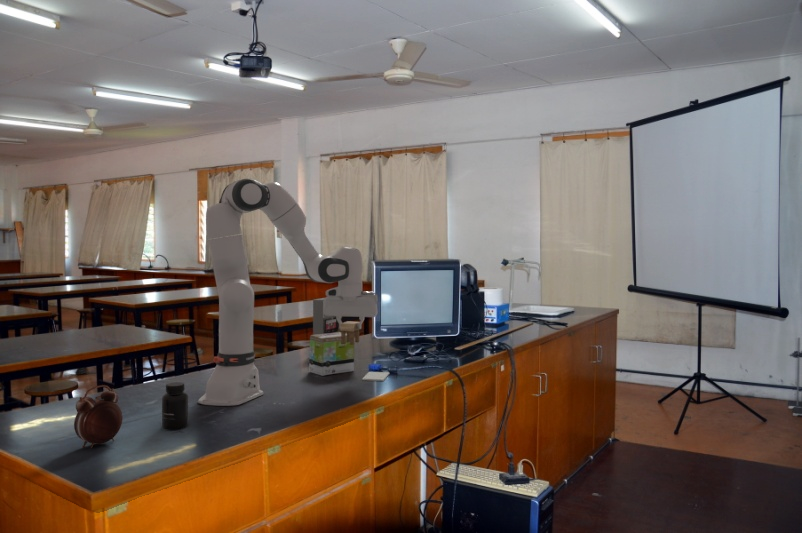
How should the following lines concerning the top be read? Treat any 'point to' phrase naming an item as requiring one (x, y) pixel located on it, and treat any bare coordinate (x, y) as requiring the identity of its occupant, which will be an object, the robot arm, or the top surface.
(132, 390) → the top surface
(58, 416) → the top surface
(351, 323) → the tan pronged block
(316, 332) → the grey game cartridge
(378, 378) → the mat
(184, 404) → the supplement bottle
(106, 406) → the alarm clock
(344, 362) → the tea box
